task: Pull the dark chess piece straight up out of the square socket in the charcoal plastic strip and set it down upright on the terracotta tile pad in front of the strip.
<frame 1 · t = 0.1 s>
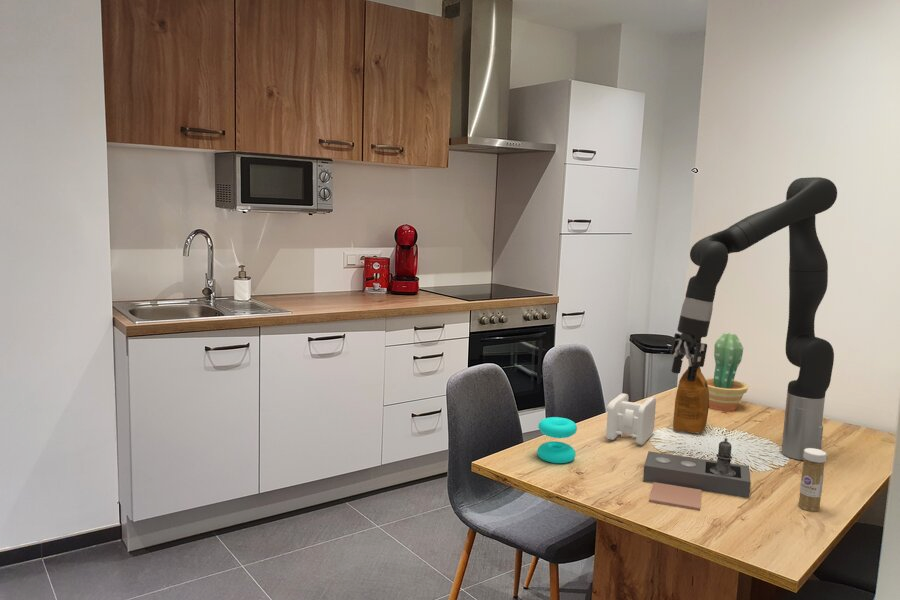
hand: (682, 376, 187), 22 cm above the table, tool pointing down, fingers open, 8 cm apart
dark chess piece: (721, 486, 173), resting in socket strip
coffee package: (690, 429, 216), on the table
sprinkles bottle: (809, 508, 162), on the table
donuts: (555, 458, 188), on the table
tile pad: (675, 496, 165), on the table
socket strip: (695, 481, 175), on the table
cable organizer: (629, 439, 206), on the table
potted cactus: (722, 407, 241), on the table
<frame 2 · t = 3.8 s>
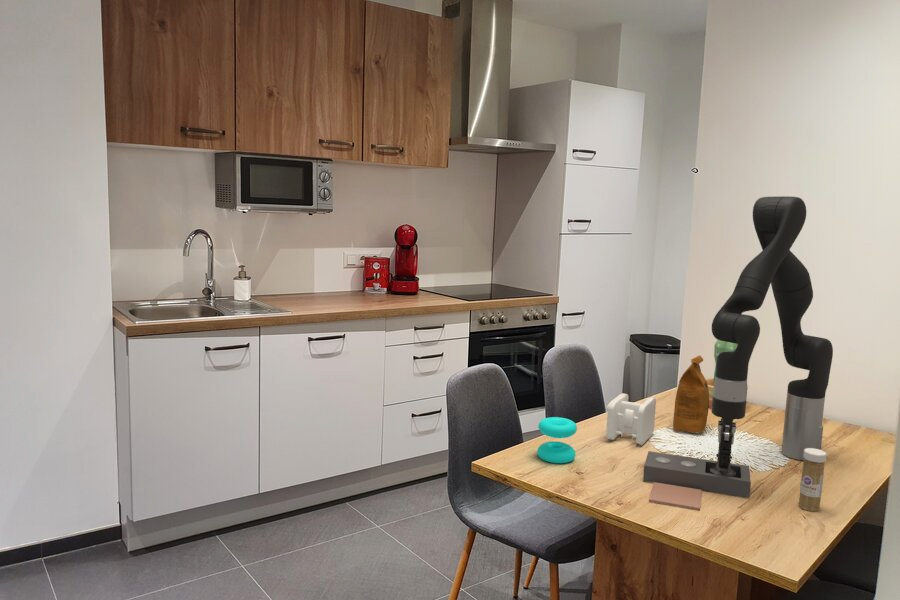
hand: (723, 464, 172), 5 cm above the table, tool pointing down, fingers closed on dark chess piece, 3 cm apart
dark chess piece: (721, 486, 173), resting in socket strip, touching gripper
everything else where it was.
when the fingers open (8 cm above the table, at t = 10.6 s): dark chess piece drops 2 cm, resting on tile pad.
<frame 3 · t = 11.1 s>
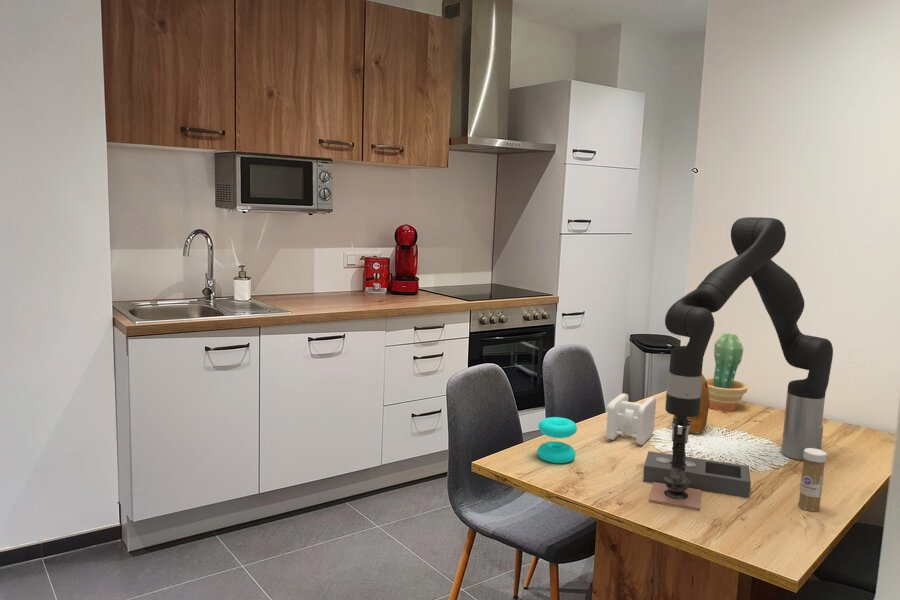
hand: (678, 461, 164), 9 cm above the table, tool pointing down, fingers open, 8 cm apart
dark chess piece: (675, 495, 165), resting on tile pad
everything else where it was.
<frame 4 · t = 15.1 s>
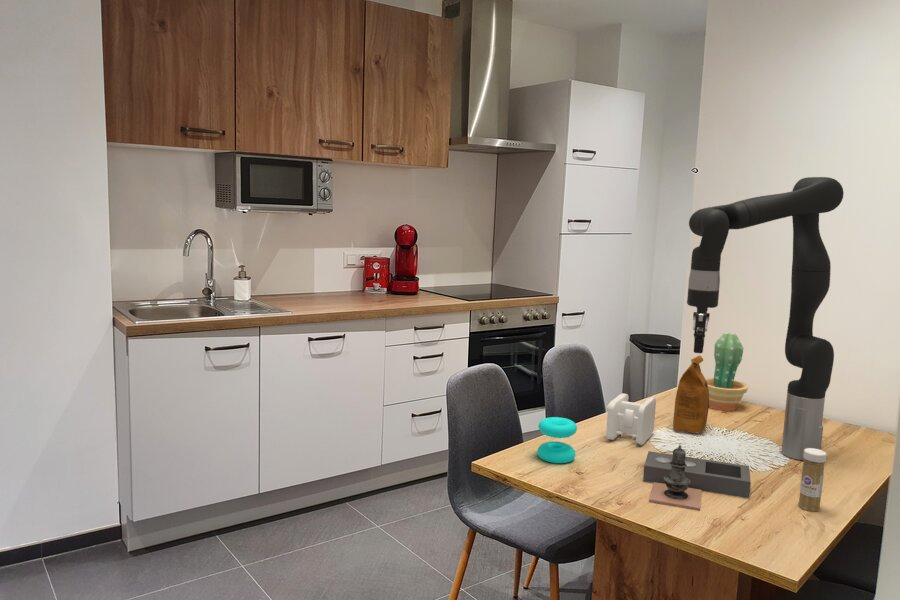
hand: (698, 349, 185), 30 cm above the table, tool pointing down, fingers open, 8 cm apart
nothing on the table moved.
at the end: dark chess piece inside the target area on the tile pad (0.1 cm from its centre), point 0.4 cm above the tile pad's base; dark chess piece tilted 0°; the gripper is holding nothing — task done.
